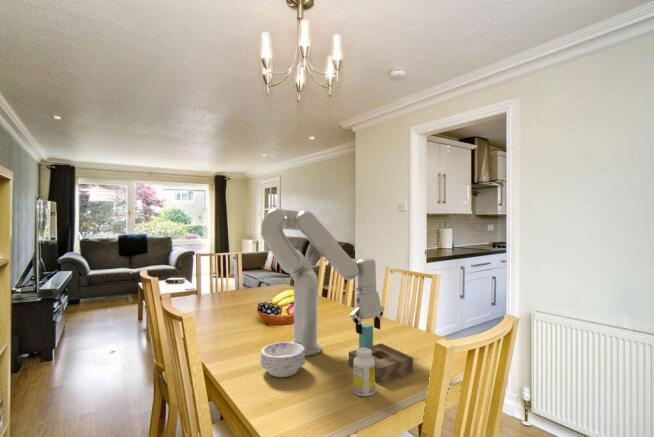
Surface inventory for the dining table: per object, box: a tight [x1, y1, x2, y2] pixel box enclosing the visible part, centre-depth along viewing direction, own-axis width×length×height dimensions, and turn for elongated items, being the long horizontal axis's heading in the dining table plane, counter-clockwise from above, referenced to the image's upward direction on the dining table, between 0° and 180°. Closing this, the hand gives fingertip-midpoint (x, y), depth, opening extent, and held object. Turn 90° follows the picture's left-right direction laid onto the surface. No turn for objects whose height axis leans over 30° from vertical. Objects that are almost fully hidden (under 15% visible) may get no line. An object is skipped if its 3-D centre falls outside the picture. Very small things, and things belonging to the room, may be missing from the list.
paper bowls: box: [260, 341, 306, 378], centre depth 116 cm, size 15×15×8 cm
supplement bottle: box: [352, 347, 376, 397], centre depth 102 cm, size 7×7×13 cm
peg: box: [358, 323, 374, 348], centre depth 135 cm, size 4×4×10 cm
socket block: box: [348, 342, 414, 385], centre depth 118 cm, size 16×16×5 cm
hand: (368, 330), depth 135 cm, fingers open, 9 cm apart
